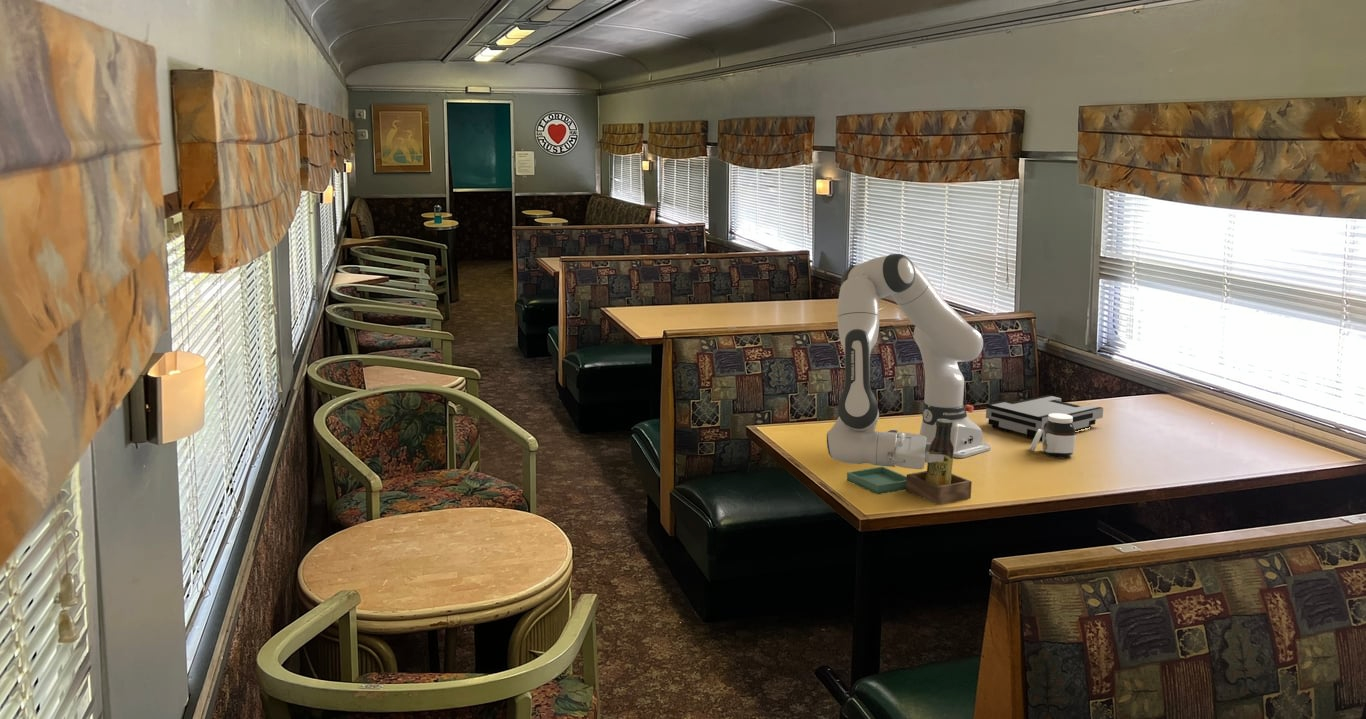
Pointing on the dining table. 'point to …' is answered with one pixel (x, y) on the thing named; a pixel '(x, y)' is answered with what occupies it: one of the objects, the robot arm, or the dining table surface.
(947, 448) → the sauce bottle
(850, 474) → the tray
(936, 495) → the caddy
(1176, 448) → the dining table surface
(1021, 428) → the game console
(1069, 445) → the spread jar
